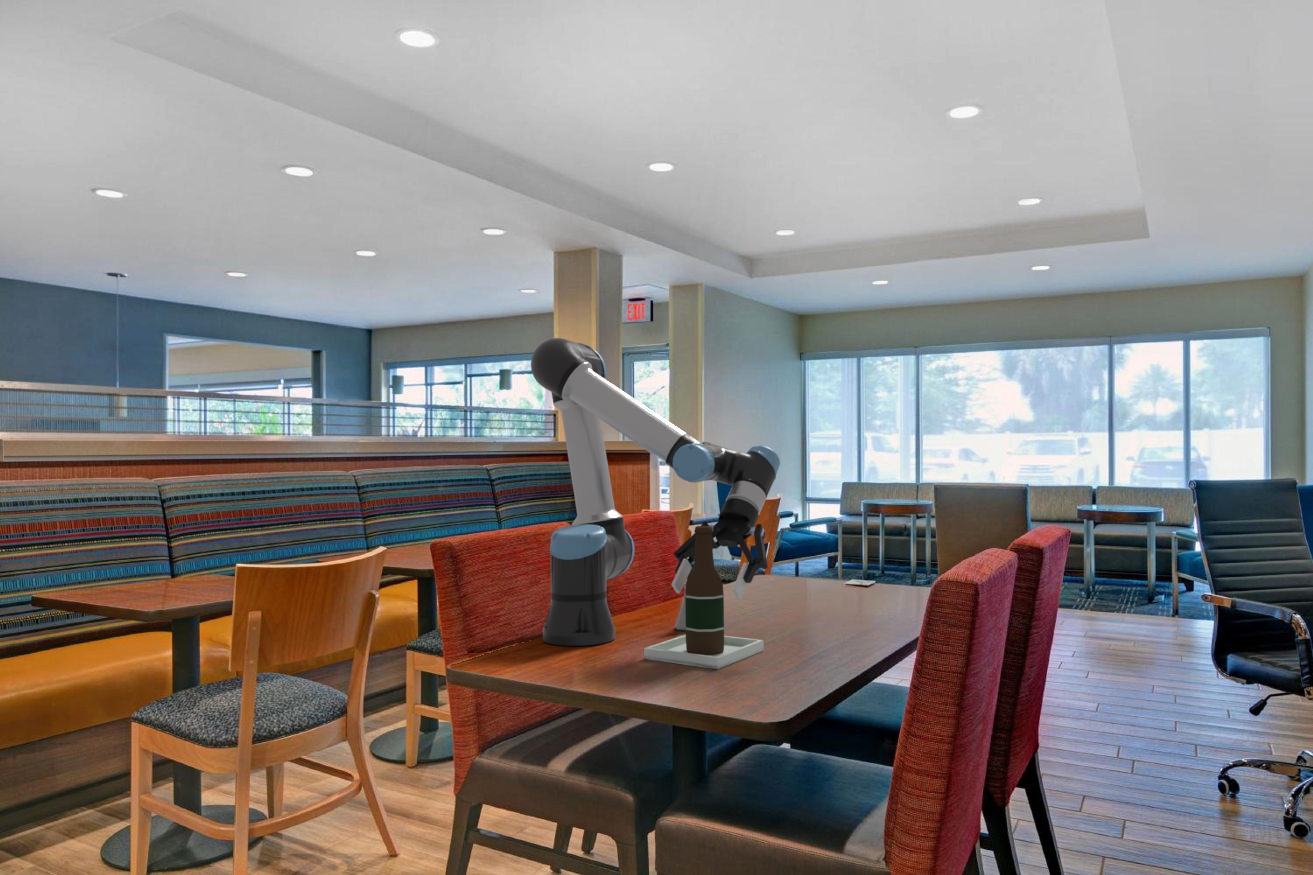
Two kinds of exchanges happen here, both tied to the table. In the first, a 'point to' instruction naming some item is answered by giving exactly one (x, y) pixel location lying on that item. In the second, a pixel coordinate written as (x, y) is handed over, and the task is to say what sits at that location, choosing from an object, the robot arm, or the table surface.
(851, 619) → the table surface
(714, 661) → the tray
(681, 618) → the flask
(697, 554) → the beer bottle
